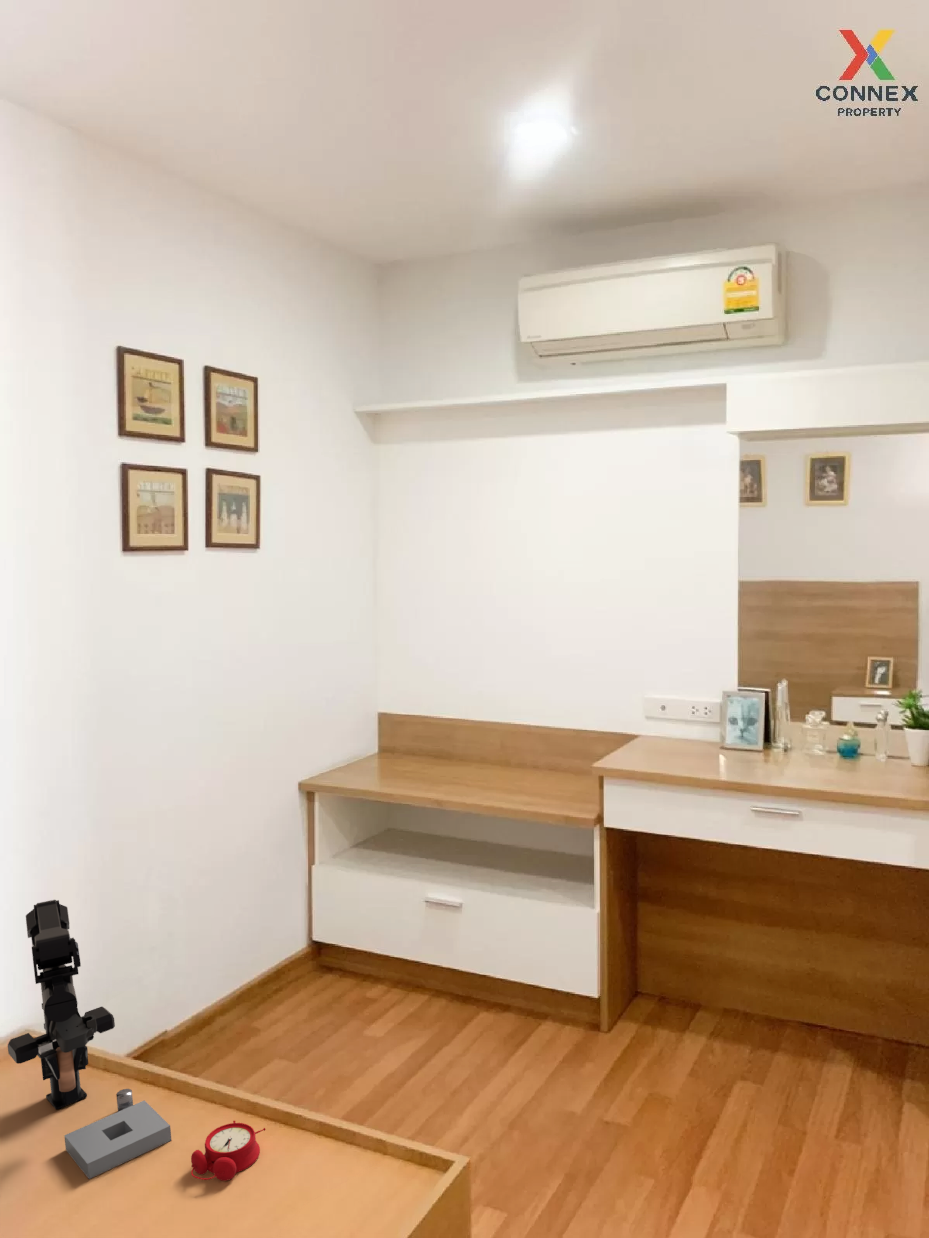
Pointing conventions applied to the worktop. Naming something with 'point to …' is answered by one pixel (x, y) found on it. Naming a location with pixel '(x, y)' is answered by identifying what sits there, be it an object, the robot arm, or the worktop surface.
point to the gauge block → (117, 1138)
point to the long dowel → (65, 1070)
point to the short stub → (124, 1099)
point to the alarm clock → (227, 1151)
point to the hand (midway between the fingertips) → (66, 1075)
